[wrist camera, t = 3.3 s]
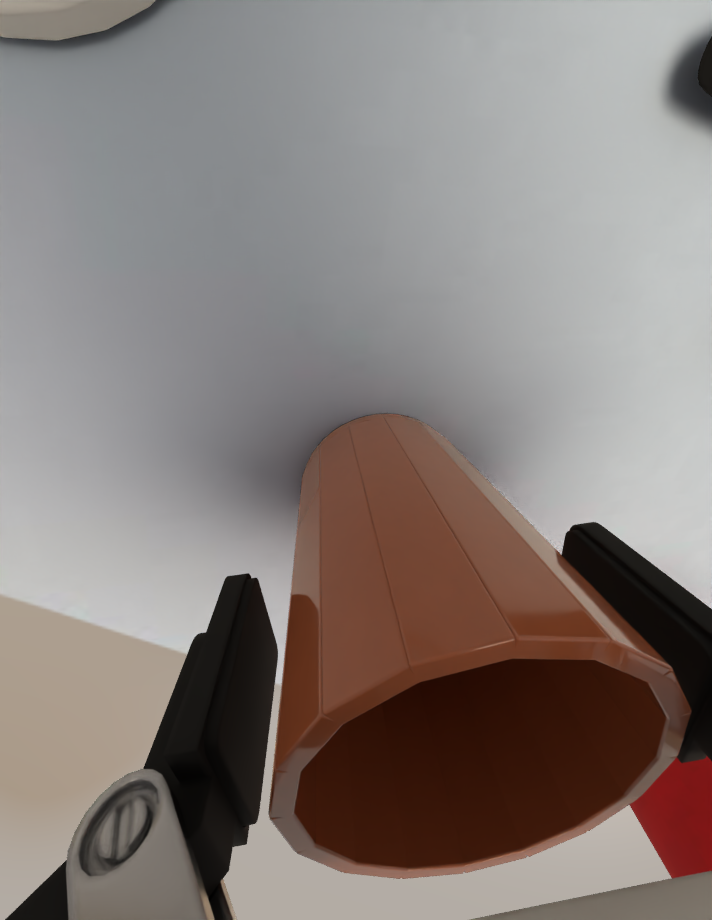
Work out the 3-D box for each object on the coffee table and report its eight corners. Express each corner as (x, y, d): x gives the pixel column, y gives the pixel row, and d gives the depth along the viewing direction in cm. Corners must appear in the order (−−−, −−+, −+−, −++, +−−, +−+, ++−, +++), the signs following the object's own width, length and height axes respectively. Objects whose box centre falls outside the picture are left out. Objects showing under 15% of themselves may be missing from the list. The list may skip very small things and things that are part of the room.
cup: (266, 479, 14) (168, 801, 5) (404, 377, 13) (618, 548, 4) (362, 576, 16) (416, 905, 7) (484, 499, 15) (723, 775, 6)
